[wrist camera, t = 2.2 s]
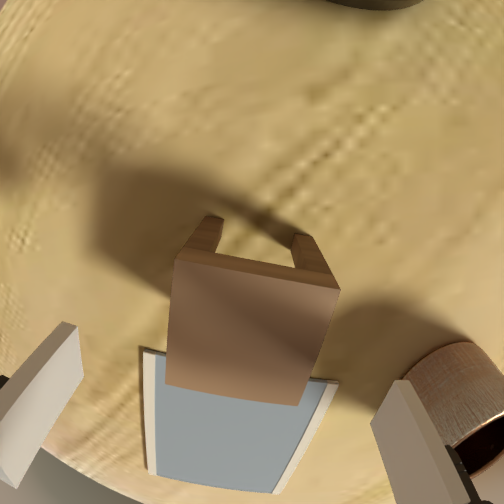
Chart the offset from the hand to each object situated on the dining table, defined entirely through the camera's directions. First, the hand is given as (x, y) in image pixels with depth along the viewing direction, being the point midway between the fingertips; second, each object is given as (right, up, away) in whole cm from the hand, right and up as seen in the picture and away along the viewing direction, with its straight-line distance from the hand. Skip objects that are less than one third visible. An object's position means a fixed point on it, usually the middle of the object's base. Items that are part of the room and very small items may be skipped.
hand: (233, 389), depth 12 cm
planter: (+19, -7, +14) cm, 24 cm away
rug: (-2, -13, +16) cm, 21 cm away
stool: (+1, +4, +10) cm, 11 cm away
